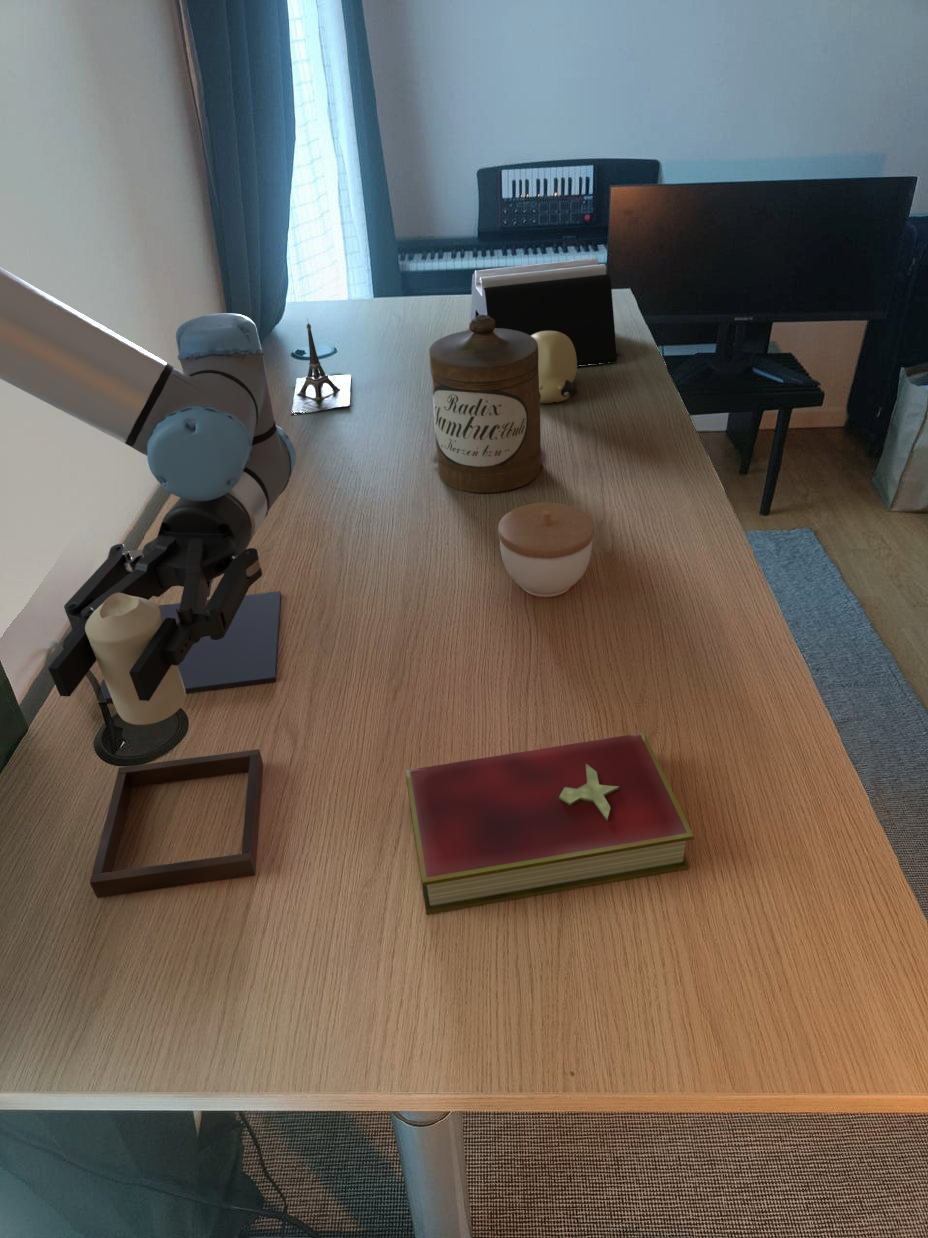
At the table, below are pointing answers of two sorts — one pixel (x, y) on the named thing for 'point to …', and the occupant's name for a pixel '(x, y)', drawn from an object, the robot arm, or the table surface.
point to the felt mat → (232, 648)
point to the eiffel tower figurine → (320, 386)
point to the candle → (131, 657)
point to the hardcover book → (544, 822)
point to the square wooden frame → (187, 871)
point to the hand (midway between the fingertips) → (99, 684)
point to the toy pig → (555, 366)
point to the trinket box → (546, 546)
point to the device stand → (552, 303)
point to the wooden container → (486, 407)
